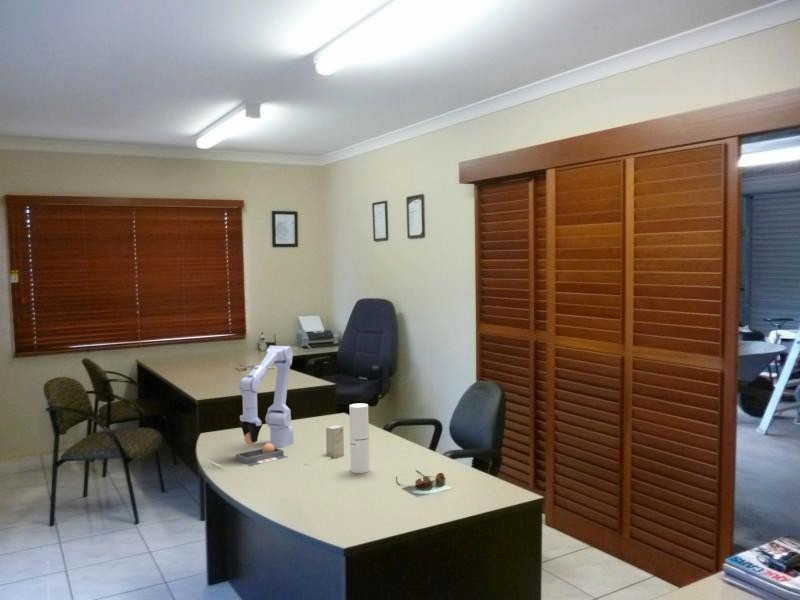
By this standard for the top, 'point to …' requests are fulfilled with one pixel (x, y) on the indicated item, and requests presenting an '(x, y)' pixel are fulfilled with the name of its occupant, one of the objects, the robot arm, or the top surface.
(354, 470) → the cylindrical container
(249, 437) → the terracotta ball
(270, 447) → the resting terracotta ball
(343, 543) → the top surface
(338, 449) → the skincare box
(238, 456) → the grey rimmed tray
